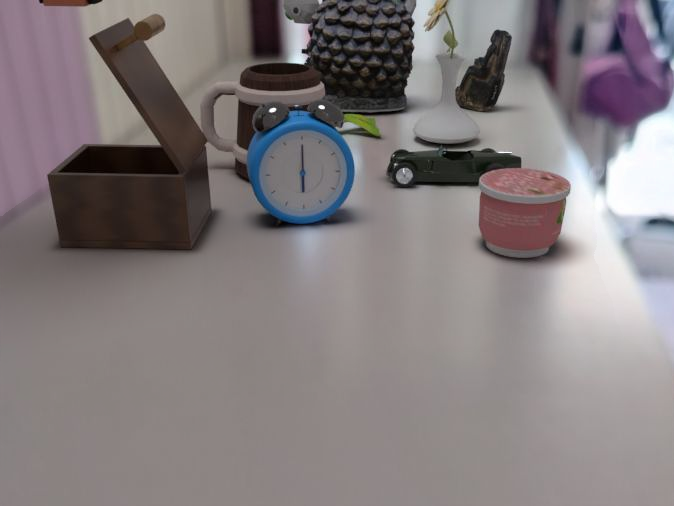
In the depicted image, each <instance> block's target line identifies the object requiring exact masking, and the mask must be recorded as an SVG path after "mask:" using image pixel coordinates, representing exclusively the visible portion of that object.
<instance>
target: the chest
mask: <svg viewBox="0 0 674 506" xmlns="http://www.w3.org/2000/svg"><path fill="white" fill-rule="evenodd" d="M46 177H47V182H48V188H49V193H50V198H51V204H52V209H53V214H54V217H55V218H54V220H55V224H56V230H57V235H58V239H59V245H60V247H61V248H92V249H93V248H96V249H97V248H98V249H100V248H101V249H144V250H145V249H147V250H148V249H149V250H192V249H193V247H194V246H195V244H196V241H197V239H198V238H199V236H200V234H201V233H202V230H203V229H204V227H205V225H206V224H207V221H208V220H209V218H210V216H211V214H212V211H213V210H212V200H211V188H210V187H211V186H210V177H209V166H208V153H207V146H206V145H205V146H204V147H203V149H202V150H201V151H200V153H199V154H198V155H197V157H196V158H195V160H194V161H193V162H192V164H191V165H190V167H189V168H188V169H187V171H186V172H184V173H183V174H180V173H179V171H178V170H177V168H176V167H175V165H174V164H173V162H172V161H171V159H170V158H169V156H168V155H167V154H166V152H165V151H164V149H163V148H162V146H161V145H160V144H115V143H114V144H111V143H110V144H108V143H107V144H106V143H105V144H104V143H83V144H82V145H81V146H80V147H79V148H77V149H76V150H75V151H74V152H73V153H72V154H70V155H69V156H68V157H66V159H64V160H63V161H62V162H60V163H59V164H58V165H57V166H56V167H54V168H53V169H52V170H51V171H49V172H48V173H47V175H46Z"/></svg>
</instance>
